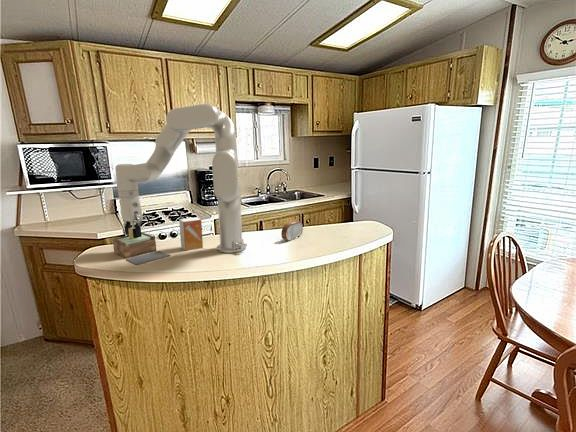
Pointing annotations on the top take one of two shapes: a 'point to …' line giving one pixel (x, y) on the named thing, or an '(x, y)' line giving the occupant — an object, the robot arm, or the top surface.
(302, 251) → the top surface
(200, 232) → the small box
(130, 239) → the lid
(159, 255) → the mat
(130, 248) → the box
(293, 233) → the bread slice
